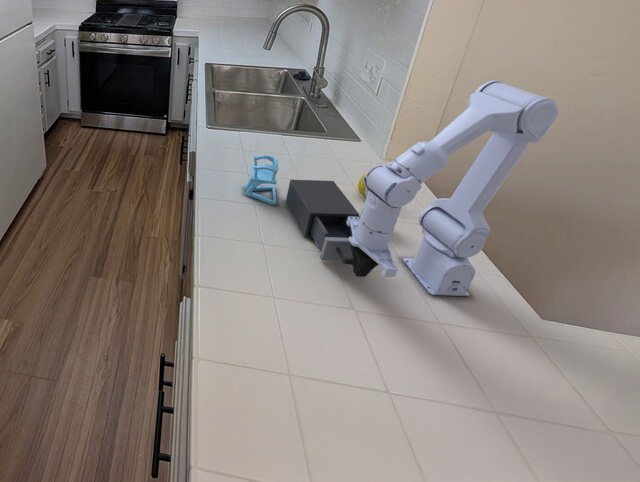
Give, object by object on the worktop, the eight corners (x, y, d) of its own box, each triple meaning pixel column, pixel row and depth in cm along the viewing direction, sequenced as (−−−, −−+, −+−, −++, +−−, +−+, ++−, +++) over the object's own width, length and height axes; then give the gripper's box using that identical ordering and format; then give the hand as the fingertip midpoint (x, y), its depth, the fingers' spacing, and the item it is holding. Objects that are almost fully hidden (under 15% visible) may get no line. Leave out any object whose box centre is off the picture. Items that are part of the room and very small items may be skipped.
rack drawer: (379, 277, 82) (386, 257, 80) (330, 275, 83) (336, 255, 81) (341, 223, 98) (347, 205, 96) (300, 222, 98) (305, 204, 96)
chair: (245, 184, 115) (250, 149, 110) (274, 189, 113) (281, 153, 108) (244, 199, 108) (250, 163, 103) (276, 205, 106) (283, 168, 101)
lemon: (380, 205, 106) (388, 181, 103) (358, 202, 107) (365, 178, 104) (372, 193, 111) (380, 169, 108) (352, 190, 112) (358, 167, 109)
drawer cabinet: (352, 239, 94) (359, 214, 91) (304, 237, 95) (310, 212, 92) (327, 203, 107) (333, 180, 104) (285, 202, 107) (290, 179, 104)
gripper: (338, 199, 82) (325, 247, 88) (376, 250, 69) (358, 304, 74) (371, 200, 82) (356, 248, 87) (416, 251, 69) (395, 305, 74)
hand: (359, 274), depth 81 cm, fingers closed
